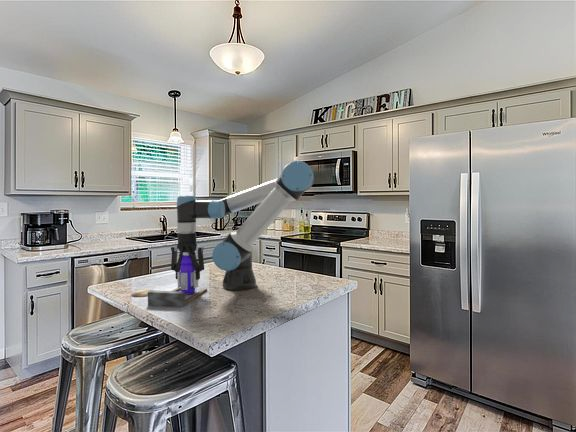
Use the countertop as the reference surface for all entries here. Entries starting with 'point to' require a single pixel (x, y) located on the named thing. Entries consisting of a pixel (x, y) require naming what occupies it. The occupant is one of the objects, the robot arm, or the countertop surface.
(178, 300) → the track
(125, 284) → the countertop surface
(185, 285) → the bottle
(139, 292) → the cork trivet
